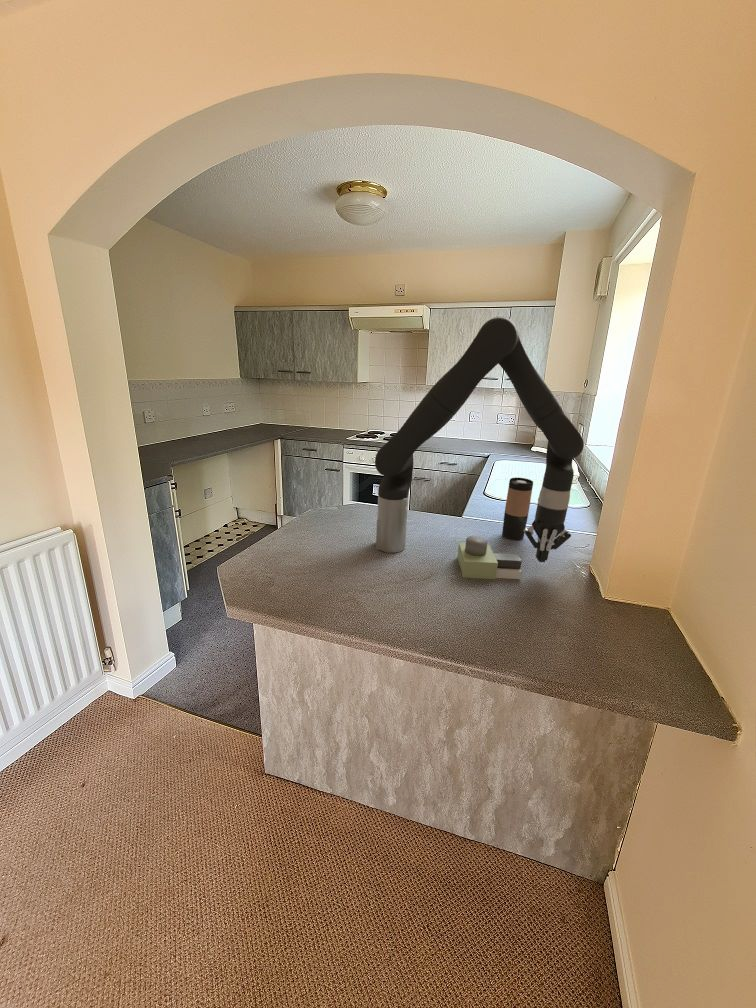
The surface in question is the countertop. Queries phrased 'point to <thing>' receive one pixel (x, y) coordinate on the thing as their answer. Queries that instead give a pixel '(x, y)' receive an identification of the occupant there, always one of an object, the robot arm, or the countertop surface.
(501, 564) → the dark grey box
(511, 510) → the travel mug
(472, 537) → the two-prong plug
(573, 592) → the countertop surface
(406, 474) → the robot arm
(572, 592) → the countertop surface
